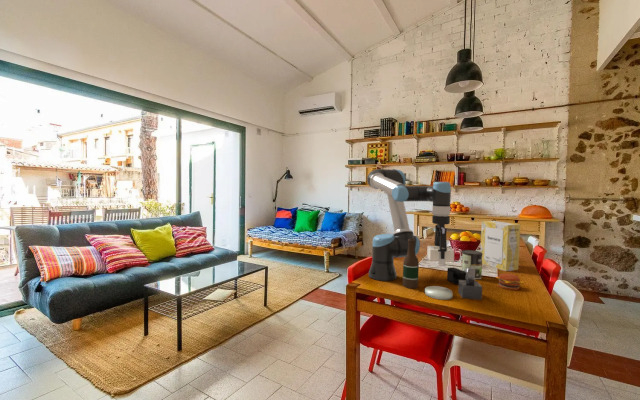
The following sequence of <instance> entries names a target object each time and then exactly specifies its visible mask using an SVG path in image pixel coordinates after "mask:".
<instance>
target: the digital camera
mask: <svg viewBox="0 0 640 400" xmlns="http://www.w3.org/2000/svg"><path fill="white" fill-rule="evenodd" d="M446 280H447V281H448V282H450V283H452V284H455V285H457V286H459V280H466V272H465V271H462V269H459V268H456V267H453V266H452V267H448V268H447V278H446Z"/></svg>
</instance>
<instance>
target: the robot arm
mask: <svg viewBox="0 0 640 400" xmlns="http://www.w3.org/2000/svg"><path fill="white" fill-rule="evenodd" d="M406 179H407V178H406V175H405V173H404V172H403V171H402V170H400V169H395V168H393V169H386V168H384V169H383V168H377V169H374V170H372V171H370V172H369V173H368V174H367V176H366V181H367V184H368V186H369V187H370V188H372V189H375V190H380V191H383V192H384V194H386V195H387V199H388V204H389V205H388V206H389V209H390V215H391V216H390V217H391V220H392V226H393V230H394V231H393V233H382V234H377V235H375V236H374V237H373V238H372V244H371V245H372V247H371V249H372V254H371V255H372V260H371V265H370V268H369V271H368V277H369V278H371V279H373V280H376V281H381V282H383V281H385V282H389V281H395V280H396V279H397V270H396V267H395V263H394V258H405V257H406V256H407V252H408V239H414V240H415V255H416V256H417V254H418V253H419V252H420V248H421V243H420V242H421V241H420V238H419V237H418V235H417V236H416V235H414V231H413V230H411V229H410V225H409V220H408V215H407V211H406V207H405V202H432V209H431V210H432V220H431V221H432V222H431V223H432V224H435V226H434V228H435V231H434V246H439V249H440V250H438V251H439V261H438V266H439V267H446V262H445V257H446V251H447V247H448V246H447V245H448V244H447V230H448V229H447V228H446V226H445V225H449V224H451V223H450V221H451V217H450V215H451V210H452V208H451V196H452V195H451V194H452V193H451V192H452V188H451V187H452V185H451V182H449V181H435V182H433V184H432V185H433V186H432V185H431V186H430V185H406V181H407V180H406Z"/></svg>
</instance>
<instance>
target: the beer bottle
mask: <svg viewBox="0 0 640 400" xmlns="http://www.w3.org/2000/svg"><path fill="white" fill-rule="evenodd" d="M402 264H403V266H402V286H403V287H404V288H406V289H407V288H408V289H417V288H418V286H419V267H420V266H419V259H418V257H417V255H415V240H414V239H408V252H407V256H406V257H404V259H403V263H402Z"/></svg>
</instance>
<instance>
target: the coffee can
mask: <svg viewBox="0 0 640 400" xmlns="http://www.w3.org/2000/svg"><path fill="white" fill-rule="evenodd" d="M482 254H483V253H482V252H481V251H480V250H479V251H478V250H472V249H471V250H470V249H465V250H462V251H461V255H462V256H461V270H462V271H465V272H466V268H467V267H471V268H475V280H481V279H482V275H483V273H482V269H483V264H482Z"/></svg>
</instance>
